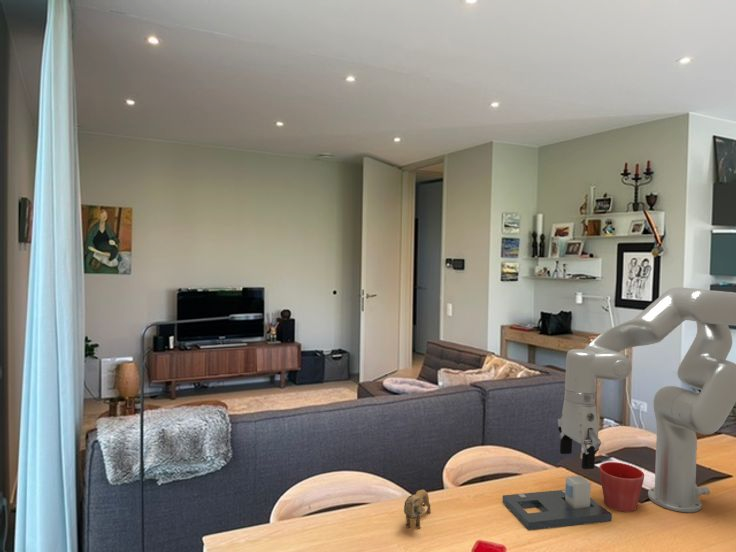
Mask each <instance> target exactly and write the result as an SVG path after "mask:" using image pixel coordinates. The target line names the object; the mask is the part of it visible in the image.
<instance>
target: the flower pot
mask: <svg viewBox="0 0 736 552" xmlns="http://www.w3.org/2000/svg"><path fill="white" fill-rule="evenodd" d="M598 468H599V469H598V470H599V475H600V484H601V489H602V495H603V499H604V503H605V505H606V506H607V507H609V508H610V509H611V510H612V509H613V510H615V511H618V512H622V513H623V512H624V513H626V512H627V513H630V512H633V511H636V509H637V507H638V503H639V500H640V496H641V494H642V493H641V492H642V488H643V484H644V480H645V474H644V472H643V470H641V469H640V468H638V467H635V466H632V465H631V464H627V463H622V462H616V461H614V462H613V461H610V462H609V461H608V462H603V463H601V464H600V465H599V467H598Z"/></svg>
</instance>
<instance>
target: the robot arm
mask: <svg viewBox="0 0 736 552" xmlns="http://www.w3.org/2000/svg"><path fill="white" fill-rule="evenodd" d="M685 321H691V322H696V335H695V337H694V339H693V341H692V343H691V345H690V347H689V348H688V350H687V352H686V353H685V355H684V357H683V359H682V360H681V361H680V363H679V366H678V368H677V378H678V379H679V381H680V382H681V383H683V384H684V385H687V386H688V387H690V388H694V389H696V390H700V392H699V393H697V392H695V391H692V390H688V389H687V388H686V389H685V388H683V387H679V386H674V385H667V386H664V387H662V388H660V389H659V390H657V392H656V393H655V395H654V398H653V403H652V404H653V411H654V416H655V424H656V440H655V441H656V442H655V465H654V466H655V468H654V469H655V471H654V472H655V473H654V487H651V488H649V489H648V491H647V492H648V493H647V496H648V497H647V498H649V500H650V501H652V502H653V503H654V504H656V505H658V506H659V507H662V508H665V509H668V510H670V511H675V512H681V513H697V512H698V511H700V510H702V504H703V503H702V501H701V500H700V499H699V497H701V495H702V496H704V495H710V493H711V491H710V488H709V487H708V486H700V487H698V485H697V484H696V477H697V454H698V453H697V450H698V439H697V434H701V435H712V434H714V433H715V432H717V431H719V430H720V428H721V427H722V426H723V424H724V423H725V421H726V420H727V418H728V416H729V415H730V413H731V411H732V409H733V408H734V406H735V405H736V363H734V362H733V361H729V360H727V358H728V356H729V353H730V352H731V349H732V347H733V336H732V333H731V329H730V327H729V326H736V292H733V291H721V290H709V289H702V288H692V287H691V288H690V287H677V286H676V287H672V288H669V289H668V290H666V291H664V292H663V293H662V294H661V295H660V296H659V297H658V298H656V299H655V300H654V301H653V302H652V303H650V304H649V305H648V306H647V307H646V308H645V309H644V310H642V311H641V312H639V314H638V315H636V316H635V317H633V318H632V319H630V320H627V321H623V322H622V323H620V324H618V325H615V326H613V327H611V328H609V329H607V330H605V331H603V332H602V333H600V334H599V335H598V336H596V337H595V338H594V339H593V340H592V341H591V342H590V343H588V344H587V345H586V346H585V348H584V349H583V348H572V349H569V350H568V351H567V353H566V357H565V358H566V361H565V378H564V379H565V380H564V381H565V382H564V397H563V399H564V400H563V404H562V405H563V406H562V409H561V417H560V418H558V419H557V420H556V421H557V425H558V432H559V439H560V443H559V444H560V445H559V453H560V455H571V454H572V453H573V452H572V451H573V441H575V442H576V443H578V444H580V445H581V447H582V450H583V453H582V454H581V468H582V469H583V470H593V469H595V460H596V455H597V454H598V452H599V450H600V447H601V445H602V441H601V439H600V438H599V416H598V410H597V405H596V394H597V393H596V392H597V379H599V380H601V379H602V380H607V381H614V382H615V381H616V382H617V381H621V380H624V379H626V378H628V377H629V375H630V374H631V372H632V363H631V360H630V359H629V358H628V357H627V356H626V355H625V354H623V353H621V352H622V351H625V350H627V349H631V348H635V347H644V346H648V345H654V344H657V343H660V342H661V341H663V340H664V339H665V338H666V337H667V336H669V334H671V333H672V332H673V331H674V330H675V329H676V328H677V327H679V326H680V325H682V323H683V322H685ZM588 445H589V447H588Z"/></svg>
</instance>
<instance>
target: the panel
mask: <svg viewBox="0 0 736 552" xmlns="http://www.w3.org/2000/svg"><path fill="white" fill-rule="evenodd" d="M565 490H566V489H560V490H559V489H558V490H546V491H535V492H534V491H533V492H523V493H515V494H504V495H503V494H502V504H503V505H504V507H506V508H507V509H508V510H509V511H510V512H511V513H512V515H514V516H515V518H516V519H517V520H518V522H520V523H521V524H522V525H523V526H524V527H525V528H526V529H527V530H528V531H532V530H534V531H535V530H543V529H553V528H561V527H570V526H571V527H572V526H580V525H589V524H599V522H600V523H608V522H612V520H613V514H612V512H610V510H608V509H607V508H605V507H604V506H603V505H601V504H600V503H599V502H597V500H595V499H593V498H592V497H591V496H590V507H585V508H575V509H574V508H573V507H572V506H570V505H569V504H568V503H567V502H566V501H565ZM532 508H537V509H538V510H539V511H538V512H528V511H526V510H525V509H532Z"/></svg>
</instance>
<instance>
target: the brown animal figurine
mask: <svg viewBox="0 0 736 552" xmlns="http://www.w3.org/2000/svg"><path fill="white" fill-rule="evenodd" d="M429 498H430V497H429V493H428V492H427V491H426V490H425V489H420V490H417V491H416V493H415V494H411V495H409V496H408V497H406V500H405V501H404V507H403V512H404V515H405V519H406V524H405V525H404V526H406V527H408V528H407V529H409V528H410V527H411V520H415V528H417V529H416V530H420V528H422V527H421V523H420V521H421V516H422V514H423V512H424V510H425V507H427V508H426V514H428V513H430V514H431V503H430V499H429ZM406 527H405V528H406Z"/></svg>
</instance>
